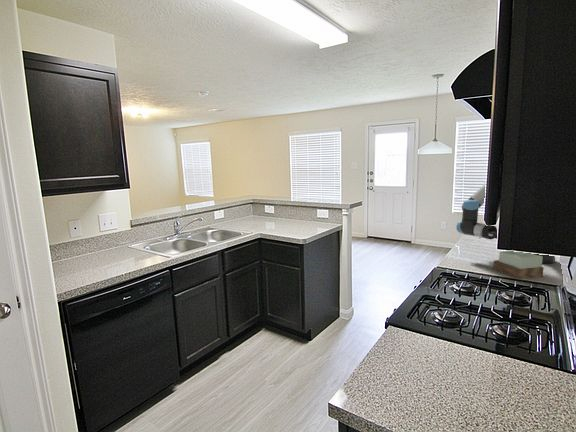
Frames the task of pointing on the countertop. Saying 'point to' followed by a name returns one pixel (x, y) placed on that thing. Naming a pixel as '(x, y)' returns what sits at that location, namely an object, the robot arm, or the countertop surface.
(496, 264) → the tower base
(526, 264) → the tower top
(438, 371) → the countertop surface
